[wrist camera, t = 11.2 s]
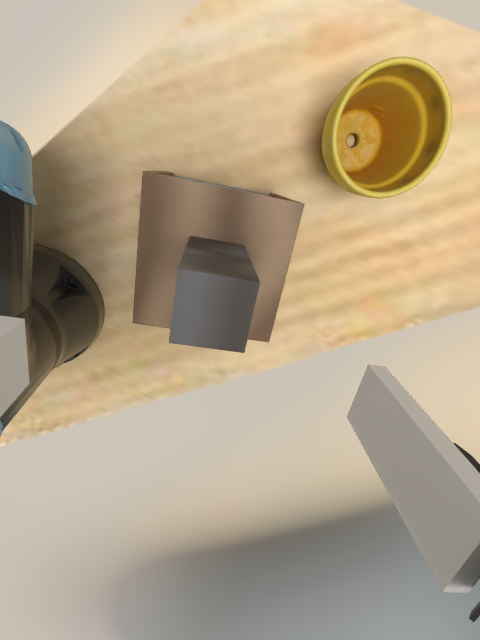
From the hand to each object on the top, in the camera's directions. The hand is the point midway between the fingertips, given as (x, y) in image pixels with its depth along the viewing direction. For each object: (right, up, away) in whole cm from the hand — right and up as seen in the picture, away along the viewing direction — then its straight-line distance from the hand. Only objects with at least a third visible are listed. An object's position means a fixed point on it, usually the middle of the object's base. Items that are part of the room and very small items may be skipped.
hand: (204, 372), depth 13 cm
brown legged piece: (-2, +12, +26) cm, 29 cm away
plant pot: (+13, +22, +24) cm, 35 cm away
